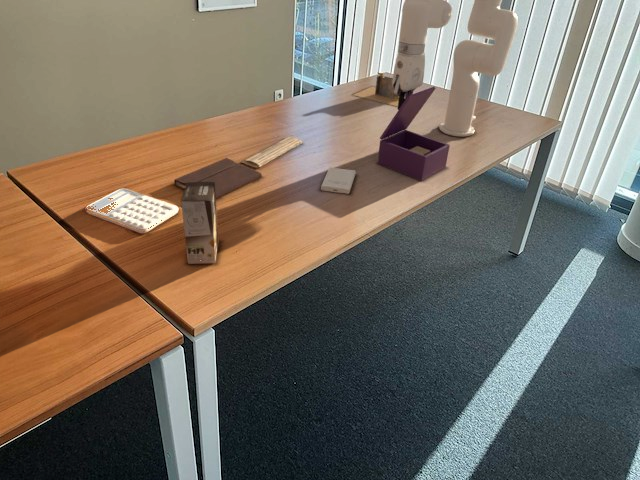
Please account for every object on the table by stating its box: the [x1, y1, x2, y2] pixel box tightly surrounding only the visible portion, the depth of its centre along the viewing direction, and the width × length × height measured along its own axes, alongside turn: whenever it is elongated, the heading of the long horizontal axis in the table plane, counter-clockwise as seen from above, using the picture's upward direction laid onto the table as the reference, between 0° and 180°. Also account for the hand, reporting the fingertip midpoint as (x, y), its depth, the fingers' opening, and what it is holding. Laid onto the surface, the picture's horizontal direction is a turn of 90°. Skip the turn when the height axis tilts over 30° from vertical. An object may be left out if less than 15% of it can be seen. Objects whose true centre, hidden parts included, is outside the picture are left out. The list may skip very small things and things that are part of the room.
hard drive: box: [320, 167, 357, 194], centre depth 155 cm, size 2×8×12 cm
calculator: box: [85, 188, 179, 234], centre depth 135 cm, size 13×20×2 cm, turn 62°
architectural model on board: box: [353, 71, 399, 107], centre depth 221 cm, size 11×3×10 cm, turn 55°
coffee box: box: [180, 182, 220, 265], centre depth 118 cm, size 9×6×16 cm
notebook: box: [174, 157, 263, 200], centre depth 152 cm, size 15×20×2 cm
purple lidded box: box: [377, 129, 451, 182], centre depth 165 cm, size 17×14×8 cm
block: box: [410, 146, 431, 156], centre depth 164 cm, size 5×5×5 cm
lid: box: [379, 86, 437, 140], centre depth 161 cm, size 17×14×1 cm
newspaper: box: [240, 136, 303, 169], centre depth 170 cm, size 24×7×2 cm, turn 148°
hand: (403, 110), depth 161 cm, fingers closed
